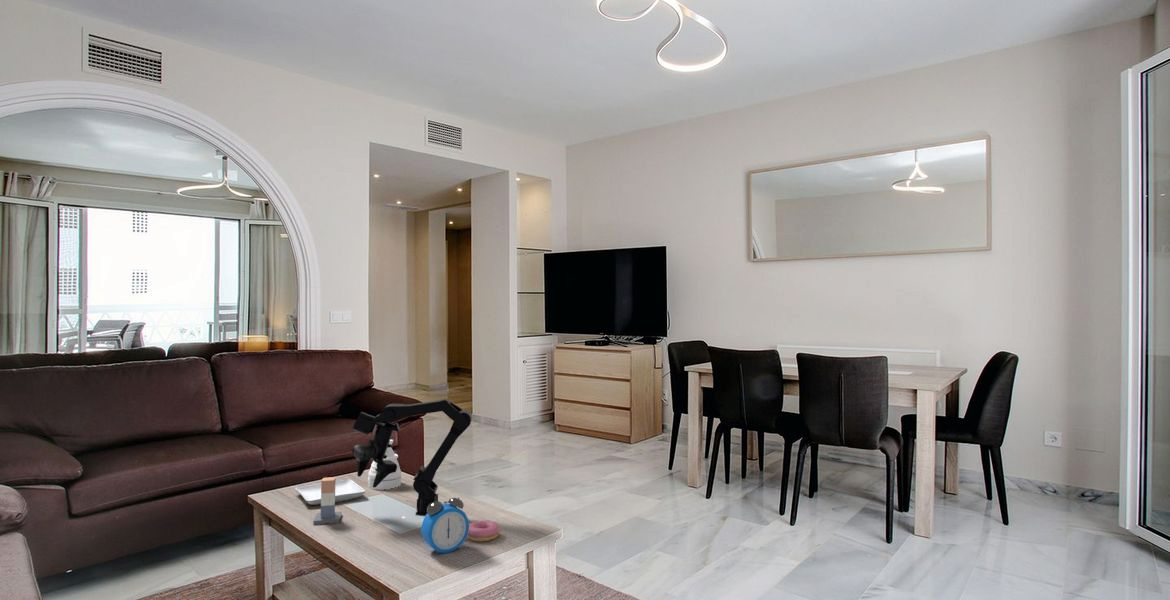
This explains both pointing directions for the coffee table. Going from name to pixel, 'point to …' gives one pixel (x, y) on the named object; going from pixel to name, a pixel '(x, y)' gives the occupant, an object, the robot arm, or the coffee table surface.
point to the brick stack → (328, 497)
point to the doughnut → (483, 530)
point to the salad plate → (342, 491)
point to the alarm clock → (445, 525)
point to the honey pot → (392, 478)
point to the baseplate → (327, 520)
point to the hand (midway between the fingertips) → (366, 481)
